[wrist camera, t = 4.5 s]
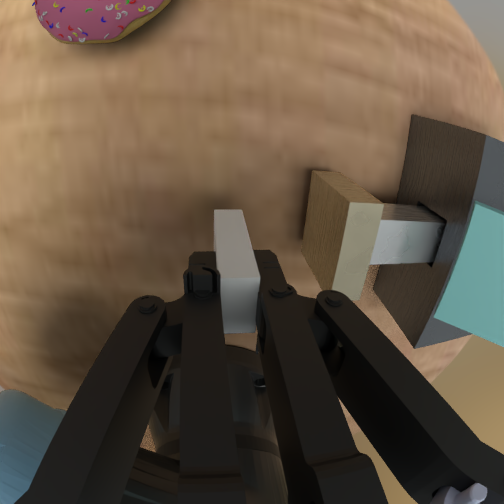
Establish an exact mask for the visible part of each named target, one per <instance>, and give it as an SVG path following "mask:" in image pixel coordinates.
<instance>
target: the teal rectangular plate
mask: <svg viewBox="0 0 504 504" xmlns="http://www.w3.org/2000/svg"><path fill="white" fill-rule="evenodd" d="M434 318H436V319H439V320H441V321H443V322H446V323H448V324H451V325H453V326H455V327H458V328H460V329H463V330H465V331H467V332H470V333H472V334H475V335H477V336H479V337H482V338H484V339H486V340H489V341H491V342H493V343H496V344H498V345H500V346H503V347H504V212H502V211H500V210H498V209H495V208H493V207H490V206H488V205H486V204H483V203H481V202H478V201H475V202H474V205H473V209H472V212H471V216H470V219H469V223H468V226H467V229H466V232H465V235H464V238H463V241H462V244H461V247H460V250H459V253H458V256H457V258H456V261H455V264H454V267H453V269H452V272H451V274H450V277H449V279H448V282H447V284H446V287H445V289H444V292H443V294H442V296H441V299H440V301H439V303H438V305H437V308H436V310H435V314H434Z"/></svg>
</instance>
